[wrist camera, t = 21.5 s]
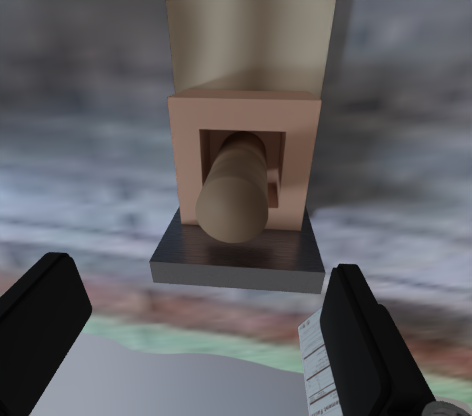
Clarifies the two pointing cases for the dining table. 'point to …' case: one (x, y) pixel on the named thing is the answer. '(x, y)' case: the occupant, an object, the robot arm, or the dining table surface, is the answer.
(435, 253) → the dining table surface
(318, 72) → the board
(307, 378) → the supplement box
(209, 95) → the carriage
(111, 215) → the dining table surface
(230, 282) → the wall
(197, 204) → the dowel
